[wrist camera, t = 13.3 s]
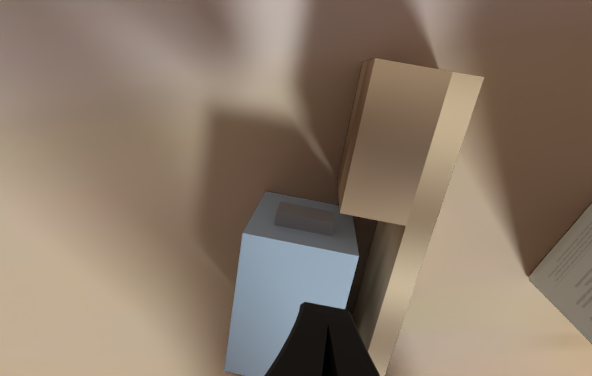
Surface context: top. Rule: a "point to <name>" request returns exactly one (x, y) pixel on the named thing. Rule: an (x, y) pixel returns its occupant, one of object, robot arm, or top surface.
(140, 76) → the top surface
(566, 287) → the small box
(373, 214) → the beige wooden bar
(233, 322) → the cabinet block
